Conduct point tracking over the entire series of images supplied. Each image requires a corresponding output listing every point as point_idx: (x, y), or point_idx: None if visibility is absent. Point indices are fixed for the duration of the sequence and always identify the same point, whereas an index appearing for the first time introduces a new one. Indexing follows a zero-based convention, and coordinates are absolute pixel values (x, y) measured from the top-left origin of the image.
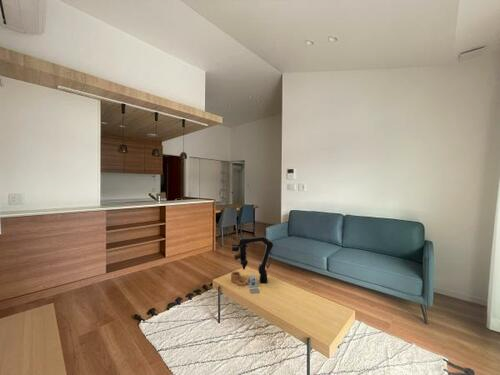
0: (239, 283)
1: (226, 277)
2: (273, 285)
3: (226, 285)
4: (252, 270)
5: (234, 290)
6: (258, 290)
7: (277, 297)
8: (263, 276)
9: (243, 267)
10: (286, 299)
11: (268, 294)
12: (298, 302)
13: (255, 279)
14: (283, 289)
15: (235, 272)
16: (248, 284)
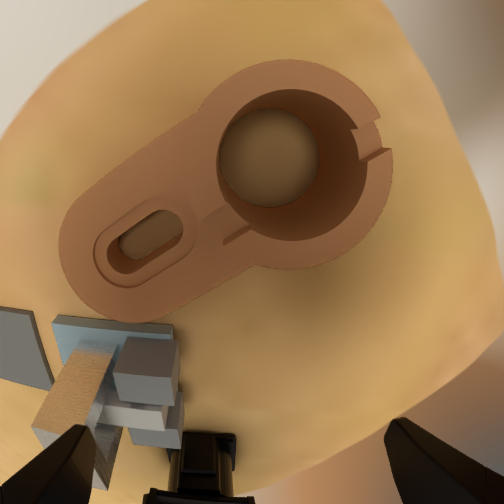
0: (70, 210)
1: (379, 45)
2: (135, 478)
3: (134, 20)
4: (444, 380)
5: (8, 136)
6: (23, 380)
7: (2, 438)
8: (144, 501)
9: (33, 479)
10: (5, 458)
11: (11, 415)
12: (6, 476)
13: None
14: (94, 492)
15: (362, 172)
16: (111, 325)
